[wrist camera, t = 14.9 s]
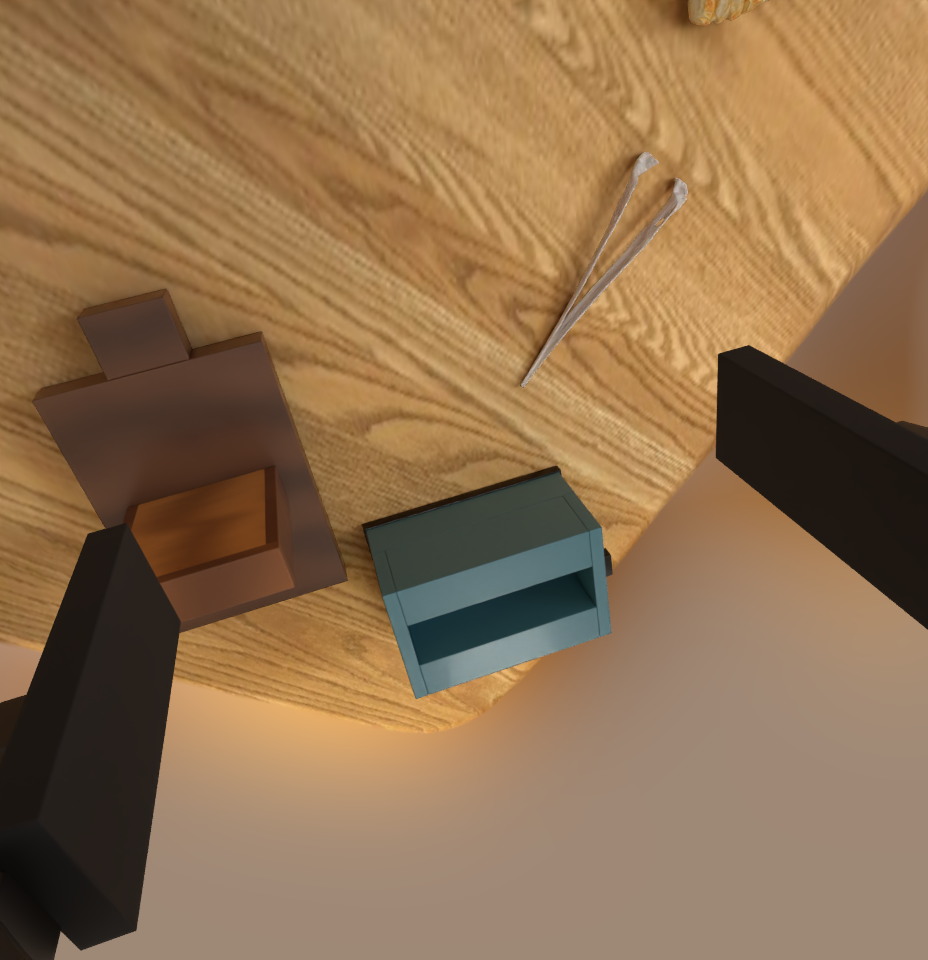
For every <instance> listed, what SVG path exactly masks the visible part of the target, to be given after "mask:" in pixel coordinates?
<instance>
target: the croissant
mask: <svg viewBox="0 0 928 960" xmlns="http://www.w3.org/2000/svg"><path fill="white" fill-rule="evenodd" d="M766 1H768V0H688V13H689V19H690V21H691V22H692V23H693V24H697V25H701V26H704V25H709V24H710V22H712V21H714V22H715V23H721V22H722V21H723V20H724V19H728V20H730V21H732V20H734V19H735V18H737V17H738V16H739V15H741V14H744V13H746V12H749V11H751V10H752V9H753V8H754V7H757V6H758V5H760V4H761V3H763V2H766Z"/></svg>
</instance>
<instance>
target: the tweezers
mask: <svg viewBox="0 0 928 960" xmlns="http://www.w3.org/2000/svg"><path fill="white" fill-rule="evenodd" d="M656 164H658V161H657V160H656V159H655V158H654V157H653V156H651V155H650V153H648V152H646V153H645V152H643V153H642V154H641V155H640V156H639V158H638V159H637V160H636V162H635V165H634V167H633V170H632V173H631V176H630V179H629V181H628V184H627V186H626V188H625V191H624V193H623V195H622V197H621V199H620V200H619V202H618V205H617V207H616V209H615V211H614V214H613V216H612V219H611V221H610V223H609V226H608V228H607V230H606V232H605V234H604V236H603V238H602V240H601V242H600V243H599V245H598V247H597V249H596V251H595V253H594V255H593V257H592V259H591V261H590V263H589V265H588V267H587V269H586V271H585V273H584V275H583V277H582V279H581V281H580V282H579V284H578V286H577V288H576V290H575V292H574V294H573V296H572V298H571V300H570V302H569V303H568V305H567V307H566V309H565V311H564V313H563V314H562V316H561V318H560V320H559V321H558V323H557V325H556V327H555V328H554V330H553V332H552V333H551V335H550V337H549V338H548V340H547V342H546V344H545V345H544V347H543V349H542V350H541V352H540V354H539V355H538V357H537V359H536V360H535V362H534V364H533V365H532V367H531V369H530V370H529V372H528V374H527V375H526V377H525V379H524V380H523V382H522V384H521V385H520V386H521V387H525V385H526V384H527V383H528V381H529V380H530V379H531V377H532V376H533V375H534V373H535V372H536V371H537V369H538V368H539V367H540V366H541V364H542V363H543V362H544V361H545V359H546V358H547V357H548V355H549V354H550V353H551V351H552V350H553V349H554V348H555V346H556V345H557V344H558V343H559V342H560V340H561V339H562V338H563V337H564V336H565V334H566V333H567V332H568V331H569V330H570V328H571V327H572V326H573V325H574V324H575V323H576V321H577V320H578V319H580V317H581V316H582V315H583V314H584V312H585V311H586V310H587V309H588V308H589V307H590V306H591V304H592V303H593V302H594V301H595V300H596V299H597V298H598V297H599V295H600V294H601V293H602V292H603V291H604V290H605V289H606V288H607V287H608V286H609V285H610V283H611V282H612V281H613V280H614V279H615V278H616V277H617V276H618V275H619V274H620V273H621V272H622V271H623V270H624V269H625V268H626V267H627V266H628V264H629V263H630V262H631V261H632V260H633V259H634V258H635V257H636V256H637V255H638V254H639V253H640V252H641V251H642V250H643V249H644V248H645V247H646V246H647V244H648V243H649V242H650V241H651V239H652V238H653V237H654V236H655V234H656V233H657V232H658V231H659V229H660V228H661V227H662V225H663V224H664V223H665V222H666V221H667V219H668V218H669V217H670V216H671V215H672V214H673V213H674V212H675V211H677V210H679V209H680V208H681V206H682V204H683V203H684V202H685V201H686V200H687V198H686V196H687V193H688V192H687V185H686V184H685V183H684V182H683V181H681V180H680V179H679V178H678V179H677V178H675V184H674V189H673V192H672V194H671V196H670V198H669V199H668V201H667V203H666V204H665V205H664V206H663V208H662V209H661V210H660V211H659V212H658V214H657V215H656V216H655V217H654V218H653V220H652V221H651V222H650V223H649V224H648V225H647V226H646V227H645V228H644V229H643V230H642V231H641V232H640V234H639V235H638V236H637V237H636V238H635V240H634V241H633V242H632V243H631V245H630V246H629V247H628V248H627V249H626V251H625V252H624V253H623V254H622V255H621V256H620V257H619V258H618V259H617V261H616V262H615V263H614V264H613V265H612V266H611V267H610V268H609V269H608V271H607V272H606V273H605V274H604V275H603V276H602V277H601V278H600V280H599V281H598V282H597V283H596V284H595V285H594V286H593V287H592V288H591V289H590V290H589V291H588V293H587V294H586V295H585V296H584V297H583V299H582V300H581V301H580V302H579V303H578V304H577V305H576V306H575V308H574V309H573V310H572V311H571V312H570V313H569V315H568V316H567V317H566V315H567V313H568V312H569V310H570V308H571V307H572V305H573V303H574V301H575V300H576V298H577V296H578V295H579V293H580V291H581V289H582V288H583V286H584V284H585V282H586V280H587V279H588V277H589V275H590V273H591V271H592V269H593V267H594V266H595V264H596V262H597V260H598V258H599V256H600V254H601V252H602V250H603V248H604V246H605V244H606V242H607V240H608V238H609V237H610V235H611V233H612V231H613V229H614V228H615V227H616V225H617V223H618V221H619V219H620V217H621V215H622V213H623V211H624V209H625V207H626V205H627V203H628V201H629V199H630V197H631V195H632V192H633V191H634V188H635V186H636V185H637V182H638V181H637V179H638V176H639V175H640V174H642V173H643V172H645V171H647V170H649V169H650V168H651V167H652V166H654V165H656ZM662 218H664V221H663V222H662V224H661V225H658V226H655V225H656V224H657V223H658V222H659V221H660V220H661V219H662ZM565 317H566V318H565ZM564 319H565V320H564ZM563 321H564V322H563ZM561 324H562V325H561Z"/></svg>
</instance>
